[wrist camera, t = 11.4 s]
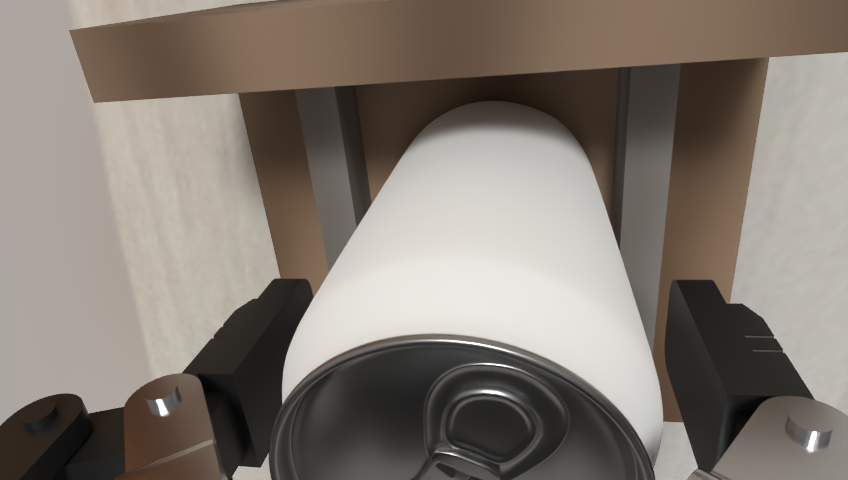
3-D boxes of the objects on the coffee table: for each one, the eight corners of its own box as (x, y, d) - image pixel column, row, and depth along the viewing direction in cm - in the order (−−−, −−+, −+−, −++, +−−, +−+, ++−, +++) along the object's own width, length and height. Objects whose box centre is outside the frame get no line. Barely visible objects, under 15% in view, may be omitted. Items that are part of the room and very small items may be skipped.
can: (633, 145, 17) (803, 436, 7) (540, 305, 20) (556, 681, 10) (438, 63, 17) (299, 228, 7) (373, 237, 20) (205, 543, 10)
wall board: (764, -48, 16) (955, -54, 9) (699, 396, 23) (778, 592, 16) (240, 4, 19) (69, 30, 12) (321, 383, 26) (244, 544, 19)
